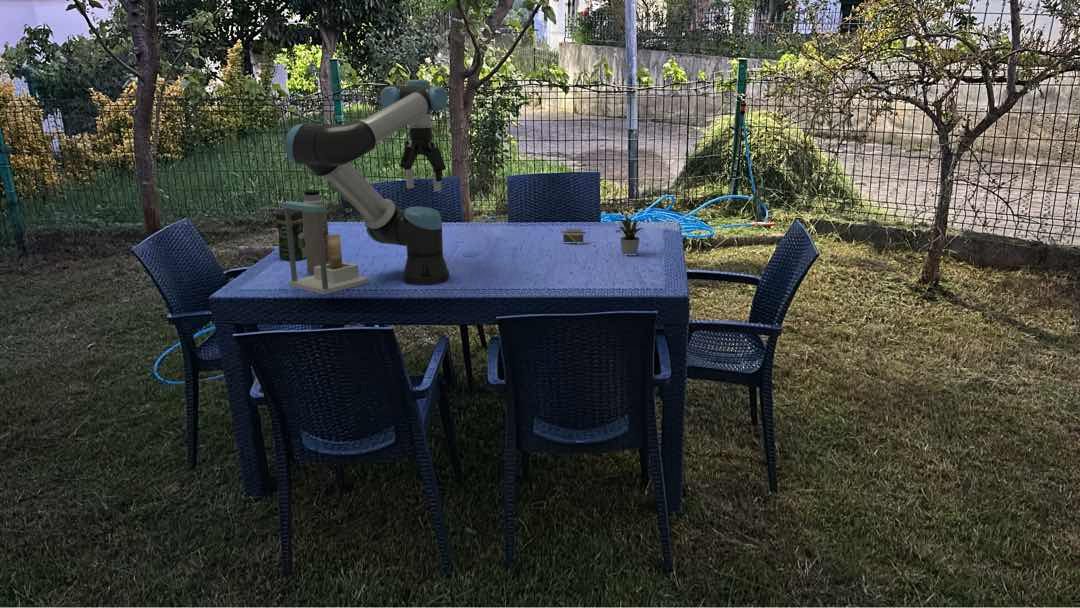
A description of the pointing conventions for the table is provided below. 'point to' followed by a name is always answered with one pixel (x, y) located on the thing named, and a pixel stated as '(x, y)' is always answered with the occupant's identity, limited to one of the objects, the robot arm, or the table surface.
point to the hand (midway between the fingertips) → (423, 189)
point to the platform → (573, 235)
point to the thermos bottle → (314, 232)
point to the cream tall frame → (323, 275)
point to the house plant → (629, 235)
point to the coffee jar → (297, 234)
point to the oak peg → (334, 251)
